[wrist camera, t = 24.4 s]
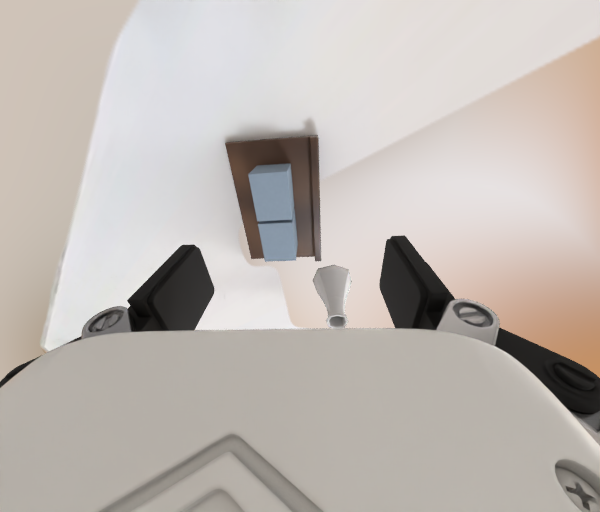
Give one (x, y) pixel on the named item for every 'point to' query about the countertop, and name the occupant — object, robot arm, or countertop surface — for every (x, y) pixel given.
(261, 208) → the pad
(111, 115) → the countertop surface
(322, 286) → the flask
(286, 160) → the backing board
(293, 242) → the pad
